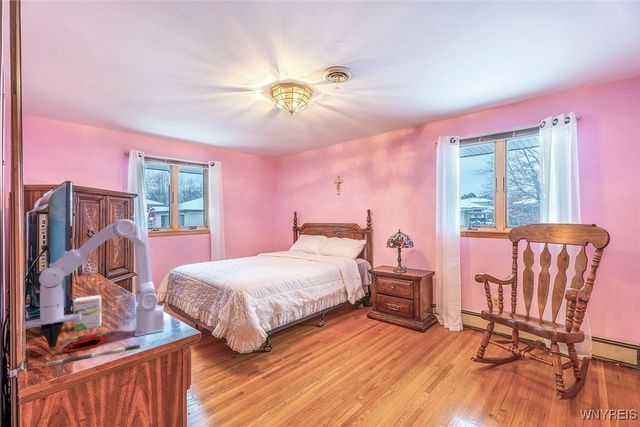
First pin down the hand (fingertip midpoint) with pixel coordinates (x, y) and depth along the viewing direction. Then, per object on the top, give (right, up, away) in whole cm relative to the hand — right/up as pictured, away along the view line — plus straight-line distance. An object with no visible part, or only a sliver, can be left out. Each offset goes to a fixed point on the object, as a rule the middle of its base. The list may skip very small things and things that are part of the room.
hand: (52, 346), depth 97 cm
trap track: (+10, -2, +6) cm, 12 cm away
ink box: (-6, -3, +23) cm, 24 cm away
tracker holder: (+6, -3, +5) cm, 8 cm away
